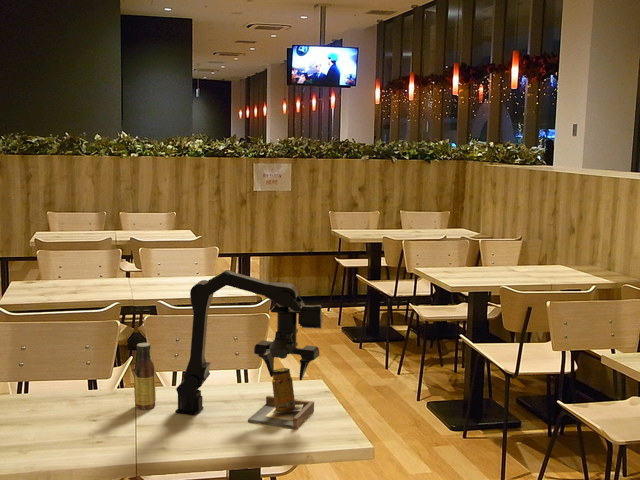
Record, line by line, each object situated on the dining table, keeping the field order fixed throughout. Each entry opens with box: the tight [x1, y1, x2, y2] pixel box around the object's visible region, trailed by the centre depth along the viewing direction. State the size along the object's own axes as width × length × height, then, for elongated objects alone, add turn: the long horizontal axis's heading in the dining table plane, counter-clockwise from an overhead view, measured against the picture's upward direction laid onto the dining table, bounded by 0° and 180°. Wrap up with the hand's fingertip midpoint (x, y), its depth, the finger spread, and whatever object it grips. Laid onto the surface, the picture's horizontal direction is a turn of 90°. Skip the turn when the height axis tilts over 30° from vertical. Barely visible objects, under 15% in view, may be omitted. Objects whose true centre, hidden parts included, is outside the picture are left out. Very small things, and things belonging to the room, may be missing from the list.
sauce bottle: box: [133, 342, 157, 410], centre depth 240 cm, size 7×6×20 cm
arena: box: [247, 395, 315, 430], centre depth 236 cm, size 15×15×3 cm
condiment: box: [271, 367, 304, 413], centre depth 236 cm, size 7×8×12 cm
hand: (286, 378), depth 235 cm, fingers open, 9 cm apart
